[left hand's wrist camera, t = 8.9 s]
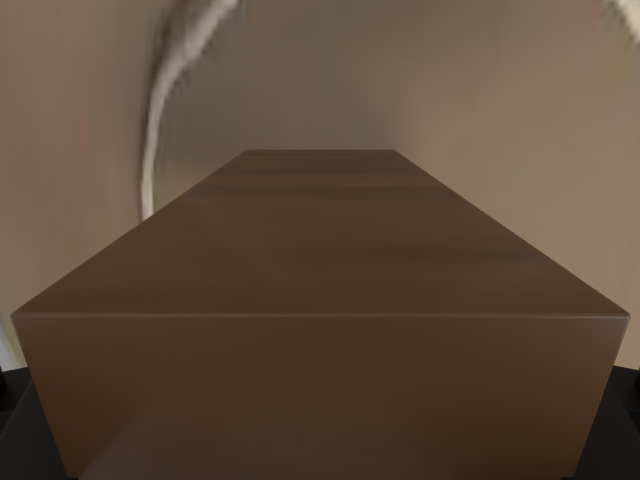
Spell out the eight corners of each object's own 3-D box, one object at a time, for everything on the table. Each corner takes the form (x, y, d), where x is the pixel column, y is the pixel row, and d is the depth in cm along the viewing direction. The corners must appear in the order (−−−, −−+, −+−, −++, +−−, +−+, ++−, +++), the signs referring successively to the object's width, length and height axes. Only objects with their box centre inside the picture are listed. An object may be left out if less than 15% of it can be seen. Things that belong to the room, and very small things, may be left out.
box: (245, 149, 16) (6, 314, 4) (394, 149, 16) (633, 314, 4) (269, 483, 23) (215, 896, 11) (370, 483, 23) (425, 896, 11)
